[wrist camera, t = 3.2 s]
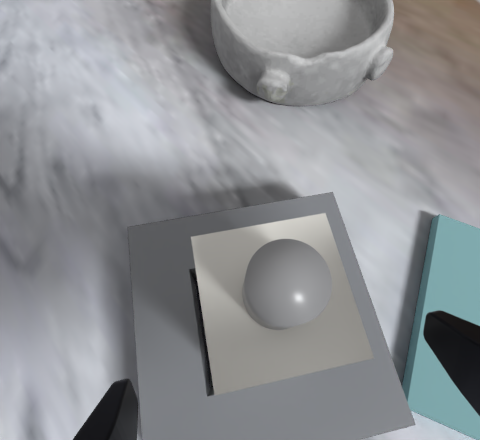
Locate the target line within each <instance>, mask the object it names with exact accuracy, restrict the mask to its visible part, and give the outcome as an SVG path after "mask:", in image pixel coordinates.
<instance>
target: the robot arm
mask: <svg viewBox="0 0 480 440" xmlns="http://www.w3.org/2000/svg"><path fill="white" fill-rule="evenodd" d="M423 335H424V338H425V340H426V342H427V344H428V345H429V347H430V348H431V350H432V351H433V353H434V354H435V356H436V357H437V359H438V360H439V362H440V363H441V365H442V366H443V368H444V369H445V371H446V372H447V374H448V375H449V377H450V378H451V380H452V381H453V383H454V384H455V385H456V387H457V388H458V390H459V391H460V392H461V393H462V395H463V396H464V397H465V399H466V400H467V401H468V402H469V404H470V405H471V406H472V407H473V409H474V410H475V411H476V412H477V414H478V415H479V416H480V326H479V325H476V324H474V323H471V322H469V321H466V320H464V319H462V318H459V317H457V316H454V315H452V314H450V313H447V312H445V311H442V310H437V311H432V312H429V313H427V314H426V318H425V324H424V330H423ZM137 421H138V400H137V396H136V394H135V391H134V388H133V386H132V383H131V381H130V380H129V379H124V380H120V381H116V382H114V383H113V384H112V385H111V387H110V388H109V389H108V391H107V392H106V394H105V395H104V396H103V398H102V399H101V401H100V402H99V403H98V405H97V406H96V408H95V409H94V410H93V412H92V413H91V415H90V416H89V418H88V419H87V420H86V422H85V423H84V425H83V426H82V427H81V429H80V430H79V432H78V433H77V434H76V436H75V437H74V439H73V440H137Z"/></svg>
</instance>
